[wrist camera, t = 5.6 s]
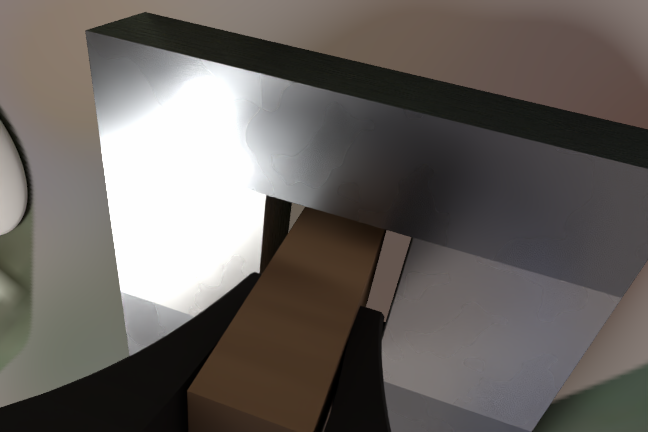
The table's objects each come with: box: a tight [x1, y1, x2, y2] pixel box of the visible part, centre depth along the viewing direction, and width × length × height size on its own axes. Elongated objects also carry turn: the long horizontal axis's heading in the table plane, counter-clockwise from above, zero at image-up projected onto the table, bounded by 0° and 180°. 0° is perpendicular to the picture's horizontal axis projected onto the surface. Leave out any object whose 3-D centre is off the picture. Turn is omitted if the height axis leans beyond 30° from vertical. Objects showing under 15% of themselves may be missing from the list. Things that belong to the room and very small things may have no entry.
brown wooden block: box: [187, 206, 386, 432], centre depth 13 cm, size 4×2×8 cm, turn 172°
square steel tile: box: [86, 12, 648, 432], centre depth 16 cm, size 16×14×2 cm
